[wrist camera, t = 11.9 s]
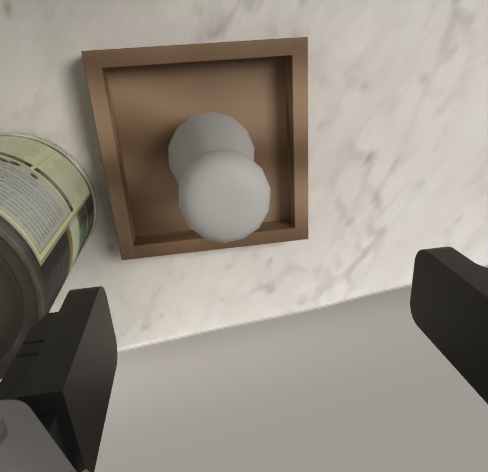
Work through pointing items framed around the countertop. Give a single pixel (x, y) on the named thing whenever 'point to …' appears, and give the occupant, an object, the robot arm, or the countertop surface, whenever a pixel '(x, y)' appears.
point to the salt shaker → (218, 177)
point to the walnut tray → (181, 109)
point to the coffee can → (37, 231)
